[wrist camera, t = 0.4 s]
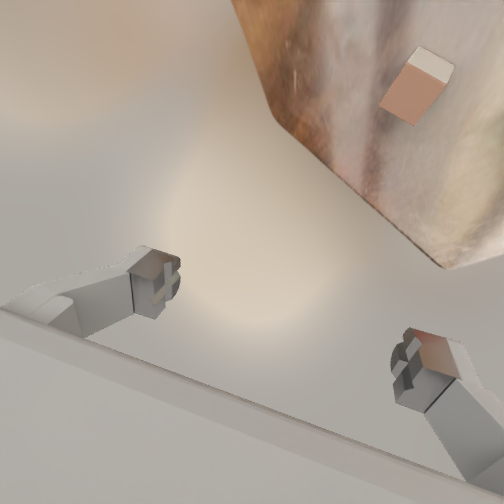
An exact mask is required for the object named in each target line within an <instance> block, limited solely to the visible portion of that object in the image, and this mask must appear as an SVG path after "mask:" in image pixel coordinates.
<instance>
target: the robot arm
mask: <svg viewBox="0 0 504 504" xmlns="http://www.w3.org/2000/svg"><path fill="white" fill-rule="evenodd" d="M179 268H180V258H179V257H177V256H174V255H171V254H168V253H165V252H162V251H159V250H155V249H152V248H149V247H146V246H139V247H138V248H136V249H135V250H134V251H133V252H131V253H130V254H129V255H128V256H126V257H125V258H124V259H122V260H121V261H120V262H119V263H117V264H116V265H115V266H113V267H110V266H107V267H103V268H99V269H95V270H91V271H88V272H84V273H79V274H76V275H72V276H67V277H63V278H59V279H55V280H51V281H47V282H43V283H39V284H35V285H33V286H32V287H31V288H29V289H27V290H26V291H25V292H23V293H21V294H20V295H18V296H17V297H15V298H13V299H12V300H10V301H9V302H7V303H6V304H4V305H3V306H1V307H0V504H504V404H503V403H502V402H501V401H499V399H498V398H497V397H496V396H495V395H494V394H493V393H492V392H490V391H489V390H488V389H487V388H484V387H482V386H481V384H480V381H479V379H478V377H477V374H476V372H475V370H474V367H473V365H472V363H471V360H470V358H469V356H468V353H467V351H466V349H465V347H464V345H463V344H462V343H461V342H460V341H456V340H453V339H449V338H445V337H441V336H437V335H434V334H430V333H427V332H424V331H420V330H417V329H413V328H408V329H407V330H406V331H405V333H404V334H403V339H404V342H402V343H399V344H397V345H396V347H395V348H394V350H393V353H392V357H391V364H390V366H391V372H392V374H393V375H394V376H395V378H396V380H395V382H394V383H393V388H394V395H395V402H396V403H397V404H400V405H403V406H405V407H408V408H410V409H413V410H416V411H419V412H421V413H424V416H425V418H426V419H427V421H428V422H429V424H430V425H431V427H432V428H433V430H434V432H435V433H436V435H437V436H438V438H439V440H440V441H441V443H442V444H443V446H444V447H445V449H446V450H447V452H448V454H449V455H450V457H451V458H452V460H453V461H454V463H455V465H456V466H457V468H458V469H459V471H460V472H461V474H462V476H463V477H464V479H465V480H466V482H465V481H462V480H459V479H457V478H454V477H452V476H449V475H446V474H444V473H441V472H438V471H435V470H433V469H430V468H427V467H425V466H422V465H420V464H417V463H414V462H412V461H409V460H406V459H404V458H401V457H398V456H396V455H393V454H390V453H388V452H385V451H382V450H380V449H377V448H374V447H372V446H369V445H366V444H364V443H361V442H358V441H356V440H353V439H350V438H348V437H345V436H342V435H340V434H337V433H334V432H332V431H329V430H326V429H324V428H321V427H318V426H316V425H313V424H310V423H308V422H305V421H302V420H300V419H297V418H294V417H292V416H289V415H286V414H284V413H281V412H278V411H276V410H273V409H270V408H268V407H265V406H263V405H260V404H257V403H255V402H252V401H249V400H247V399H244V398H241V397H239V396H236V395H233V394H231V393H228V392H225V391H223V390H220V389H217V388H215V387H212V386H209V385H207V384H204V383H201V382H198V381H196V380H193V379H191V378H188V377H185V376H183V375H180V374H177V373H175V372H172V371H169V370H167V369H164V368H161V367H158V366H156V365H153V364H151V363H148V362H145V361H143V360H140V359H137V358H134V357H132V356H129V355H127V354H124V353H122V352H119V351H116V350H113V349H111V348H108V347H106V346H103V345H100V344H98V343H95V342H92V341H89V340H87V339H84V338H85V337H88V336H90V335H92V334H94V333H95V332H98V331H100V330H102V329H104V328H106V327H108V326H110V325H112V324H114V323H116V322H118V321H120V320H122V319H125V318H127V317H129V316H131V315H133V314H134V313H136V314H139V315H143V316H146V317H149V318H152V319H156V318H157V317H158V316H159V314H160V313H161V312H162V311H163V310H164V308H165V302H166V301H169V300H171V299H172V298H173V297H174V296H175V295H176V293H177V291H178V288H179V285H180V275H179V273H178V271H177V270H178V269H179Z"/></svg>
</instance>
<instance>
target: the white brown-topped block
mask: <svg viewBox="0 0 504 504" xmlns="http://www.w3.org/2000/svg"><path fill="white" fill-rule="evenodd" d="M454 68H455V66H454V65H453V64H451V63H449V62H447V61H445V60H444V59H442V58H440V57H438V56H436V55H435V54H433V53H431V52H429V51H427V50H425V49H424V48H422V47H420V46H418V47H417V49H416V50H415V52H414V53H413V54H412V56H411V57H410V58H409V60H408V61H407V62H406V64H405V65H404V67H403V68H402V70H401V71H400V73H399V74H398V76H397V78H396V79H395V81H394V82H393V84H392V85H391V87H390V88H389V90H388V91H387V93H386V94H385V96H384V97H383V99H382V101H381V102H380V104H379V106H380V107H382V108H384V109H386V110H387V111H389V112H391V113H392V114H394V115H396V116H397V117H399V118H401V119H403V120H404V121H406V122H408V123H409V124H411V125H413V126H414V125H415V124H416V123H417V121H418V120H419V119H420V118H421V116H422V115H423V114H424V113H425V112H426V110H427V109H428V108H429V107H430V105H431V104H432V103H433V102H434V101H435V99H436V98H437V97H438V96H439V94H440V93H441V92H442V91H443V90H444V88H445V87H446V85H447V83H448V81H449V79H450V77H451V74H452V72H453V70H454Z"/></svg>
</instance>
